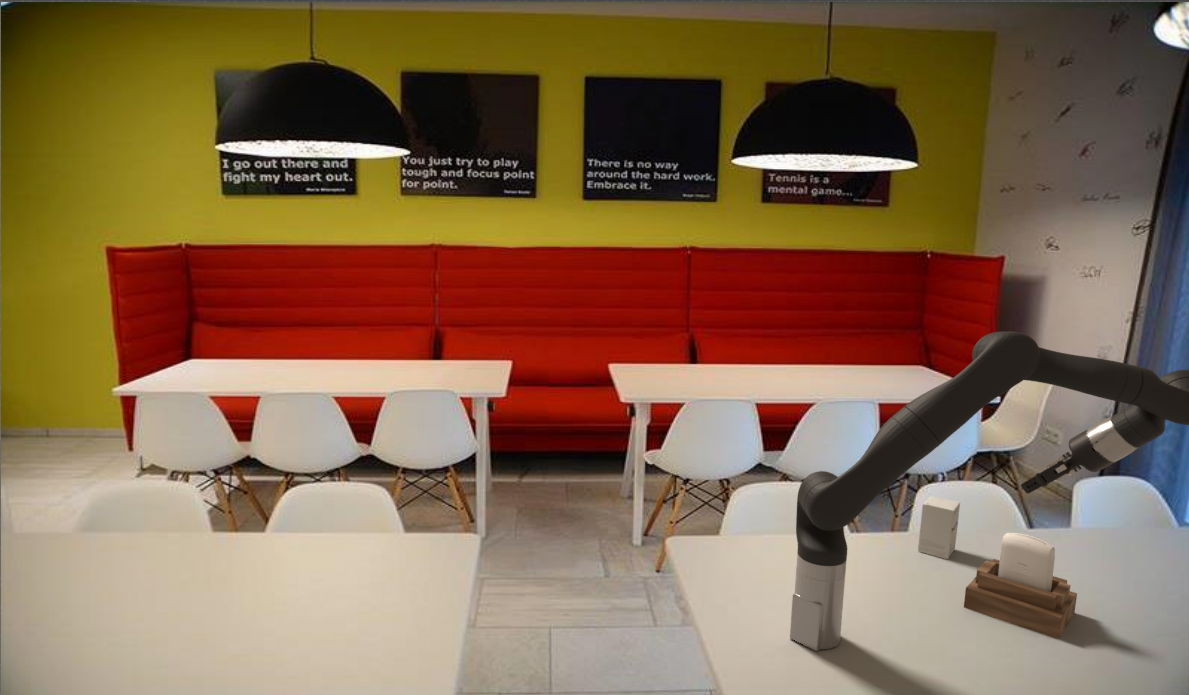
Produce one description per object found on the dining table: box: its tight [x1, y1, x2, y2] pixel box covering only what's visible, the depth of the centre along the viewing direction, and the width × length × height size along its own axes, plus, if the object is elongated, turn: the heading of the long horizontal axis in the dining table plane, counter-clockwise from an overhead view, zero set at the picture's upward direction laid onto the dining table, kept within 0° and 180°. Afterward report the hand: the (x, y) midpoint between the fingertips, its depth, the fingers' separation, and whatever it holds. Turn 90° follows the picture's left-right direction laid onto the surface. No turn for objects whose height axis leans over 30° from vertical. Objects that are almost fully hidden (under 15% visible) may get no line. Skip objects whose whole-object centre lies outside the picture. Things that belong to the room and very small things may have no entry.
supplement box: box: [917, 495, 961, 560], centre depth 195 cm, size 7×7×13 cm
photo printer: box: [998, 532, 1056, 592], centre depth 166 cm, size 10×4×12 cm, turn 42°
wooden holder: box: [963, 558, 1078, 640], centre depth 167 cm, size 14×18×8 cm
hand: (1032, 484), depth 162 cm, fingers open, 8 cm apart
